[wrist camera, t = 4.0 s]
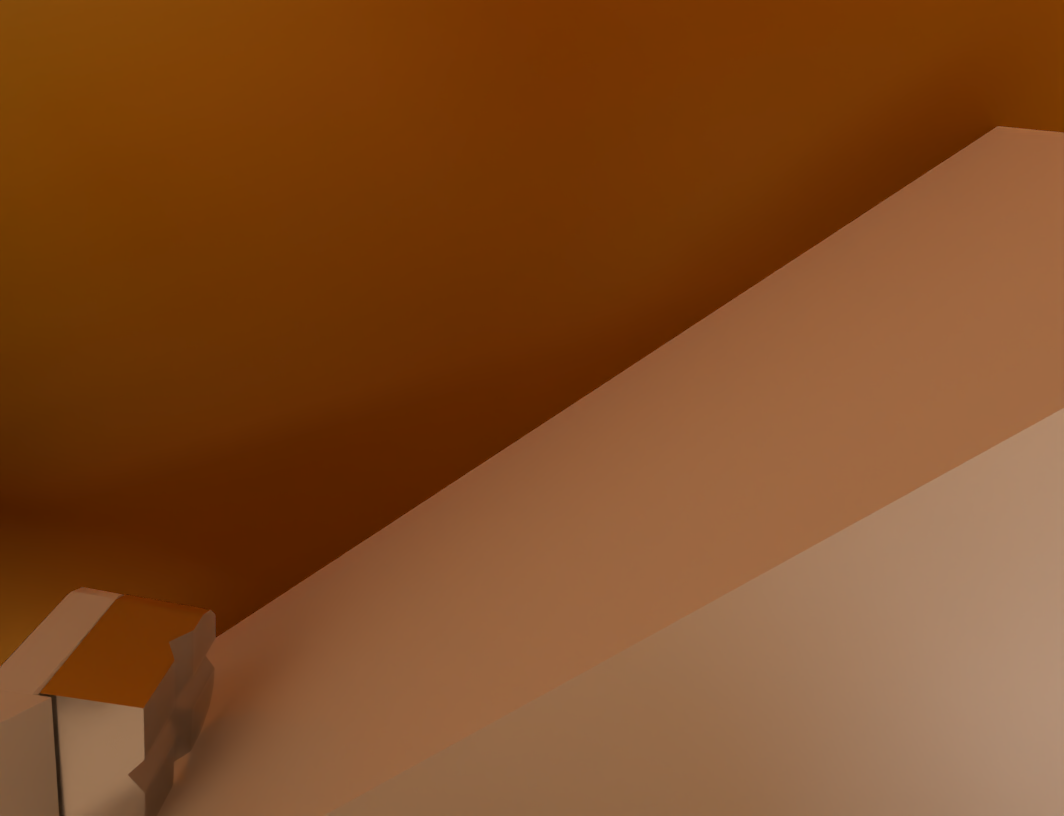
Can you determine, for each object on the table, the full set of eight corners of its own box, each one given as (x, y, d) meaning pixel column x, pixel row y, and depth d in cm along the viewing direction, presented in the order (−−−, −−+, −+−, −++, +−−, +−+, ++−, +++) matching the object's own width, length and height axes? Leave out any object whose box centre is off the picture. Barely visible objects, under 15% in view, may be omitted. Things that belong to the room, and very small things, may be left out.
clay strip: (989, 125, 9) (1488, 173, 4) (1112, 389, 10) (1600, 652, 5) (59, 735, 13) (-220, 1113, 8) (232, 871, 14) (78, 1266, 9)
